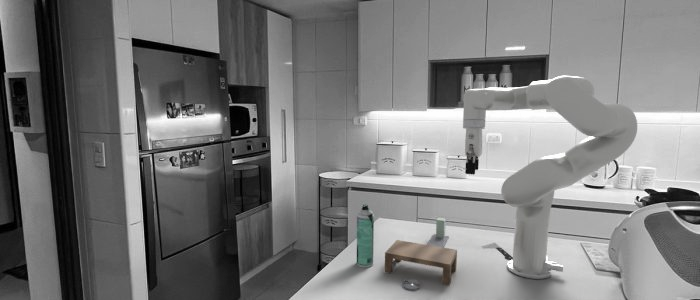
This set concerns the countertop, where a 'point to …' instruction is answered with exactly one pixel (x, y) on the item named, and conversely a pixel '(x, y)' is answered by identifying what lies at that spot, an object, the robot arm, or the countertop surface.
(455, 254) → the walnut bench
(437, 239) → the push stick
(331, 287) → the countertop surface
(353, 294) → the countertop surface
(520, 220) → the robot arm
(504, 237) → the countertop surface
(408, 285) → the disc
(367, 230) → the spray can
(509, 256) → the cleaver
